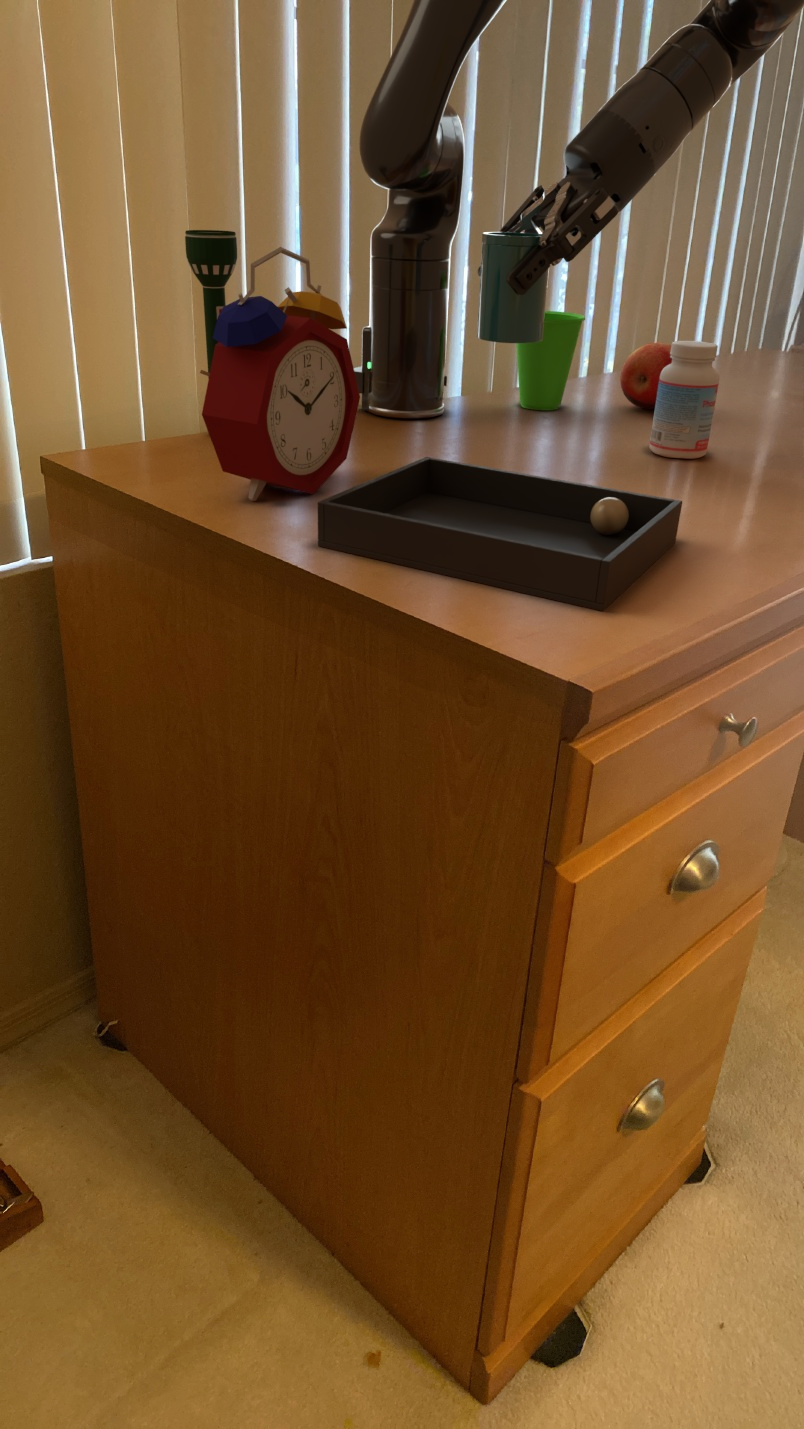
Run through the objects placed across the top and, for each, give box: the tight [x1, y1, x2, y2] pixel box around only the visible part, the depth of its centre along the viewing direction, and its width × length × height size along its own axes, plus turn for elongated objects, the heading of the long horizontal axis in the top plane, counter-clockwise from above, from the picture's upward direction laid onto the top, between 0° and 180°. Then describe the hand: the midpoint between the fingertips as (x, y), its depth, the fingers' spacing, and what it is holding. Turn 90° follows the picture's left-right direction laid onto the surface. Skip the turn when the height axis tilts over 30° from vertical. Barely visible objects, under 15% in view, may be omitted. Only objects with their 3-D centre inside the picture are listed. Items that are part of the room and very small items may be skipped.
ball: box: [590, 497, 629, 535], centre depth 78 cm, size 3×3×3 cm
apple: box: [619, 342, 672, 410], centre depth 125 cm, size 8×8×8 cm
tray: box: [317, 456, 683, 612], centre depth 77 cm, size 23×17×4 cm
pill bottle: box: [648, 340, 720, 460], centre depth 103 cm, size 6×6×11 cm
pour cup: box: [476, 231, 550, 344], centre depth 92 cm, size 6×6×9 cm
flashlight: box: [184, 229, 238, 380], centre depth 102 cm, size 5×5×20 cm
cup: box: [515, 310, 586, 411], centre depth 124 cm, size 9×9×11 cm
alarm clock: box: [199, 246, 361, 502], centre depth 85 cm, size 15×9×20 cm, turn 148°
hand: (498, 283), depth 91 cm, fingers closed on pour cup, 6 cm apart
